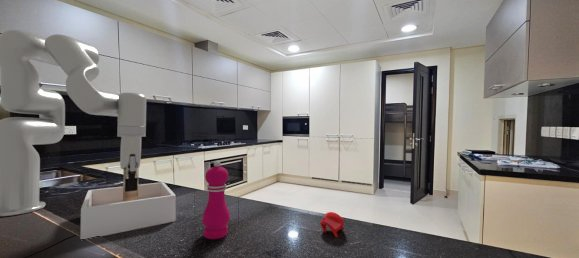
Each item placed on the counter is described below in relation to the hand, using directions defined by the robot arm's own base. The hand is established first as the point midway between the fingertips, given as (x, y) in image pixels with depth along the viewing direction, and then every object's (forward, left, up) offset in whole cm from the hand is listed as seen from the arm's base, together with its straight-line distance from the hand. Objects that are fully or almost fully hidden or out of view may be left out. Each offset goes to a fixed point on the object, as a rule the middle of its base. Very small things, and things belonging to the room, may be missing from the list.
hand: (130, 188), depth 74 cm
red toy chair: (+45, +45, -9) cm, 64 cm away
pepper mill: (+27, +18, -9) cm, 34 cm away
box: (0, 0, -9) cm, 9 cm away
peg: (0, 0, -3) cm, 3 cm away
